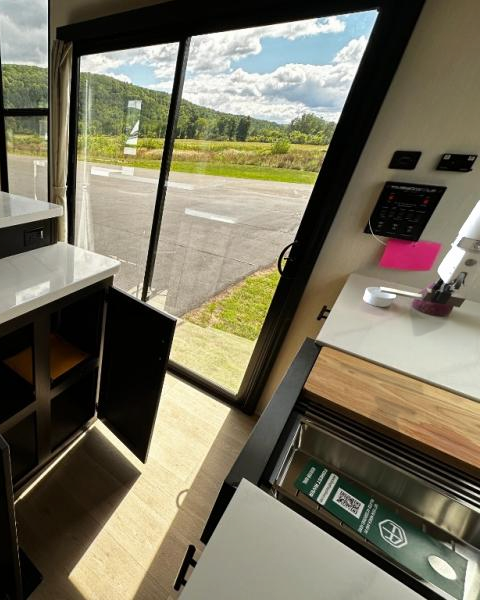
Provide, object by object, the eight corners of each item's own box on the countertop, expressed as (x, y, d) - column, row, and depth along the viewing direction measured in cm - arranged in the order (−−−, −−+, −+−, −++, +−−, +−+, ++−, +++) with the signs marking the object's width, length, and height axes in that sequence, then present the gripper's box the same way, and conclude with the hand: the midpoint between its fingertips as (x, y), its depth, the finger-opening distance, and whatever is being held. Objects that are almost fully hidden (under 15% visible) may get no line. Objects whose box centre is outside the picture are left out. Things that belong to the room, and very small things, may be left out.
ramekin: (368, 306, 120) (373, 297, 118) (356, 295, 127) (361, 285, 125) (396, 309, 118) (401, 299, 116) (382, 297, 126) (387, 287, 123)
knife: (456, 303, 94) (462, 294, 93) (459, 307, 93) (465, 298, 91) (379, 288, 103) (383, 280, 101) (380, 292, 101) (385, 284, 99)
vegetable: (418, 321, 117) (431, 289, 108) (403, 303, 124) (414, 272, 116) (457, 319, 113) (473, 285, 104) (439, 301, 121) (453, 268, 112)
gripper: (506, 256, 78) (461, 317, 88) (482, 236, 90) (445, 291, 100) (464, 251, 82) (425, 309, 92) (446, 231, 94) (413, 285, 103)
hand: (435, 299), depth 96 cm, fingers closed on knife, 2 cm apart
